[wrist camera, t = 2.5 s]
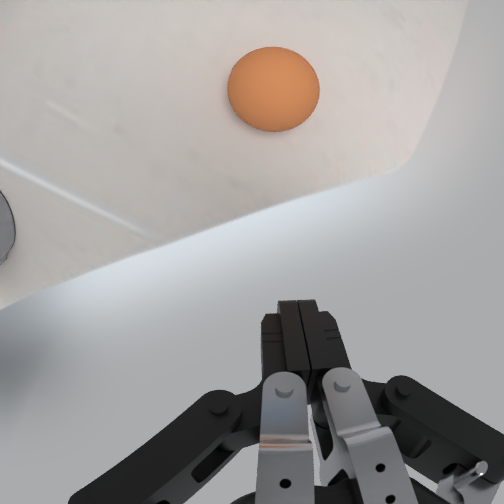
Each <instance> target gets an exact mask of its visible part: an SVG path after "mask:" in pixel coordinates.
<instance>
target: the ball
mask: <svg viewBox="0 0 504 504" xmlns="http://www.w3.org/2000/svg"><path fill="white" fill-rule="evenodd" d="M319 92H320V88H319V81H318V78H317V75H316V73H315V71H314V69H313V67H312V66H311V65H310V64H309V62H308V61H307V60H306V59H304V58H303V57H302V56H301V55H299V54H298V53H296V52H294V51H291V50H289V49H285V48H281V47H265V48H260V49H257V50H254V51H252V52H250V53H248V54H246V55H245V56H244V57H242V58H241V59H240V60H239V61H238V62H237V63H236V65H235V66H234V68H233V69H232V71H231V74H230V76H229V80H228V96H229V100H230V103H231V105H232V107H233V109H234V111H235V112H236V113H237V115H238V116H239V117H240V118H241V119H242V120H244V121H245V122H246V123H248V124H249V125H251V126H253V127H255V128H258V129H261V130H265V131H274V132H275V131H285V130H289V129H292V128H294V127H296V126H298V125H300V124H301V123H303V122H304V121H305V120H306V119H307V118H308V117H309V116H310V115H311V114H312V112H313V111H314V109H315V107H316V105H317V103H318V99H319Z"/></svg>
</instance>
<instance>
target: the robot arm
mask: <svg viewBox="0 0 504 504" xmlns="http://www.w3.org/2000/svg"><path fill="white" fill-rule="evenodd" d="M14 236H15V231H14V223H13V218H12V215H11V212H10V209H9V207H8V204H7V202H6V200H5V199H4V197H3V195H2V194H1V193H0V264H2V263H3V262H4V261H5V260H6V259H7V252H8V251H9V250H10V249H11V248H12V246H13V243H14ZM261 363H262V381H261V382H260V384H259V385H258V386H257V387H256V388H254V389H253V390H251V391H248V392H246V393H242V394H238V395H234V394H233V393H231V392H229V391H225V390H214V391H210V392H208V393H206V394H204V395H203V396H202V397H201V398H200V399H198V400H197V401H196V402H195V403H194V404H193V405H191V406H190V407H189V408H188V409H187V410H186V411H184V412H183V413H182V414H181V415H180V416H178V417H177V418H176V419H175V420H174V421H172V422H171V423H170V424H169V425H167V426H166V427H165V428H164V429H163V430H161V431H160V432H159V433H158V434H156V435H155V436H154V437H153V438H151V439H150V440H149V441H148V442H146V443H145V444H144V445H142V446H141V447H140V448H138V449H137V450H136V451H134V452H133V453H132V454H131V455H129V456H128V457H126V458H125V459H124V460H122V461H121V462H120V463H118V464H117V465H116V466H114V467H113V468H111V469H110V470H108V471H107V472H106V473H104V474H103V475H101V476H100V477H98V478H97V479H95V480H94V481H93V482H91V483H90V484H88V485H87V486H85V487H84V488H82V489H80V490H79V491H77V492H76V493H74V494H73V495H72V496H71V497H70V499H69V501H68V504H183V503H185V502H186V501H187V500H188V499H189V498H190V497H192V496H193V495H194V494H195V493H196V492H197V491H198V490H199V489H201V488H202V487H203V486H204V485H205V484H206V483H207V482H208V481H210V480H211V479H212V478H213V477H214V476H215V475H216V474H217V473H218V472H219V471H220V470H221V469H222V468H223V467H224V466H225V465H226V464H227V463H228V462H229V461H230V460H231V459H232V458H233V457H234V456H235V455H236V454H237V453H238V452H239V451H240V450H241V449H242V448H244V447H248V446H251V445H254V444H257V443H259V454H258V468H257V482H256V492H252V493H250V494H247V495H244V496H242V497H240V498H238V499H237V500H235V501H233V502H232V503H231V504H491V502H492V500H493V498H494V496H495V494H496V492H497V490H498V488H499V485H500V483H501V482H502V481H503V480H504V434H502V433H500V432H499V431H497V430H495V429H494V428H492V427H490V426H489V425H487V424H485V423H484V422H482V421H480V420H479V419H477V418H475V417H474V416H472V415H470V414H469V413H467V412H465V411H464V410H462V409H460V408H459V407H457V406H455V405H454V404H452V403H450V402H449V401H447V400H446V399H444V398H442V397H441V396H439V395H437V394H436V393H434V392H433V391H431V390H430V389H428V388H426V387H425V386H423V385H421V384H420V383H418V382H417V381H415V380H413V379H412V378H410V377H407V376H401V375H400V376H395V377H393V378H391V379H390V380H389V381H388V382H387V383H378V382H370V381H366V380H364V379H362V378H360V376H359V375H358V374H357V373H356V372H355V371H353V370H352V369H351V366H350V363H349V360H348V357H347V353H346V350H345V347H344V344H343V341H342V339H341V335H340V332H339V330H338V326H337V323H336V320H335V319H334V318H333V316H332V315H331V314H330V313H329V312H328V311H322V312H319V311H318V307H317V304H316V301H315V300H297V301H296V300H290V301H278V309H277V313H276V314H266V315H265V317H264V319H263V320H262V322H261ZM309 404H311V407H312V415H311V420H310V421H311V426H312V430H313V435H314V439H315V443H316V447H317V451H318V456H319V460H320V481H321V485H322V486H314V466H313V465H314V464H313V447H312V443H311V441H310V440H309V432H308V412H307V405H309ZM404 463H405V464H407V465H408V466H410V467H411V468H413V469H414V470H416V471H417V472H419V473H421V474H422V475H424V476H426V477H427V478H429V479H430V480H432V481H434V482H435V483H437V484H438V488H437V490H436V494H435V493H434V492H432V491H431V490H429V489H428V488H426V487H425V486H423V485H422V484H420V483H419V482H418V481H416V480H415V479H413V478H411V477H409V475H408V472H407V470H406V467H405V464H404Z"/></svg>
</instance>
